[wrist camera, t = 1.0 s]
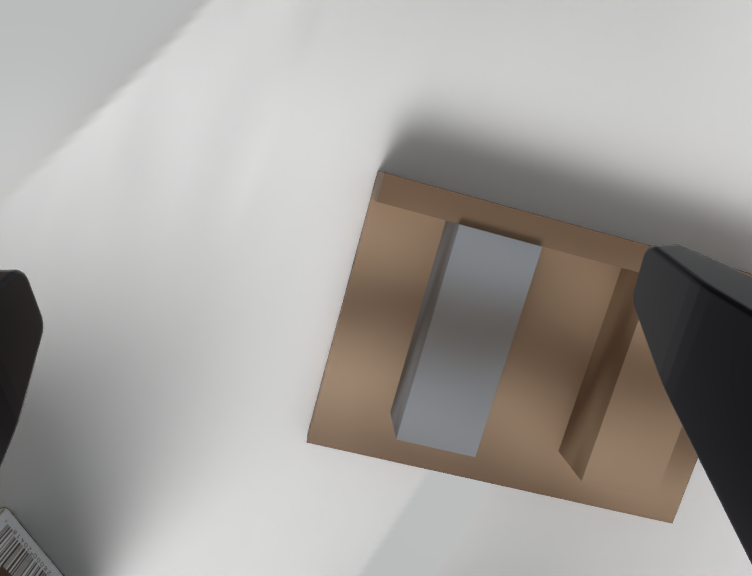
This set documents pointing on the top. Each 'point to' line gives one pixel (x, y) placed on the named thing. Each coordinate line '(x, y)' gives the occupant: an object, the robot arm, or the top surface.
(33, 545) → the coffee box
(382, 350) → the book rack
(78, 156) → the top surface
